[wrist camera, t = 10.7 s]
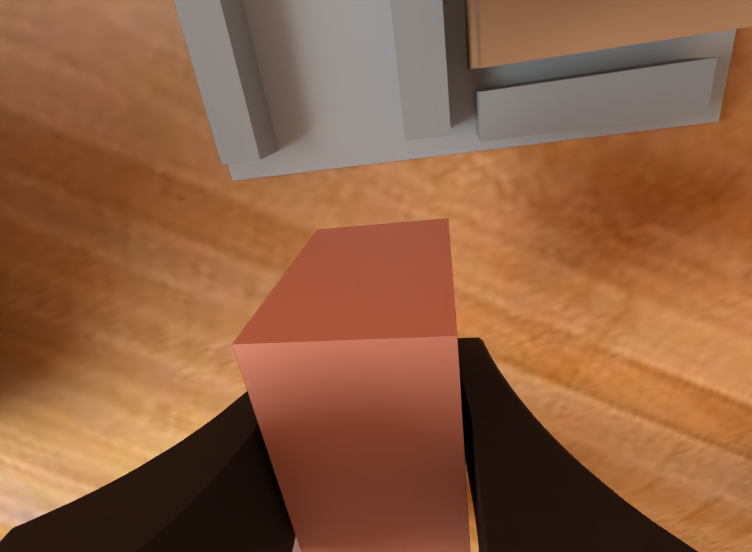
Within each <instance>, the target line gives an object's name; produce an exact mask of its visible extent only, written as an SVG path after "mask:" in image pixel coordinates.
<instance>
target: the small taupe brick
mask: <svg viewBox="0 0 752 552" xmlns="http://www.w3.org/2000/svg"><path fill="white" fill-rule="evenodd" d="M465 21H466V44H467V66H468V69H475V68H486V67H492V66H499V65H505V64H512V63H518V62H525V61H531V60H538V59H544V58H550V57H557V56H563V55H570V54H576V53H583V52H589V51H596V50H602V49H609V48H615V47H622V46H628V45H635V44H641V43H648V42H654V41H661V40H667V39H673V38H680V37H686V36H693V35H699V34H706V33H712V32H719V31H725V30H732V29H738V28H745V27H751V26H752V0H465Z"/></svg>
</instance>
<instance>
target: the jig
mask: <svg viewBox="0 0 752 552" xmlns="http://www.w3.org/2000/svg"><path fill="white" fill-rule="evenodd" d="M173 1H174V5H175V8H176V11H177V15H178V18H179V22H180V25H181V28H182V32H183V35H184V39H185V42H186V46H187V49H188V52H189V56H190V59H191V63H192V66H193V69H194V73H195V76H196V80H197V83H198V87H199V90H200V93H201V97H202V100H203V104H204V107H205V110H206V114H207V117H208V121H209V124H210V128H211V131H212V134H213V138H214V141H215V145H216V148H217V151H218V155H219V158H220V162H221V165H225V164H228V168H229V171H230V175H231V178H232V181H236V180H244V179H252V178H261V177H269V176H277V175H285V174H294V173H302V172H310V171H318V170H326V169H335V168H343V167H351V166H359V165H367V164H376V163H384V162H392V161H400V160H409V159H417V158H425V157H433V156H441V155H450V154H458V153H466V152H474V151H483V150H491V149H499V148H507V147H515V146H524V145H532V144H540V143H548V142H557V141H565V140H573V139H581V138H589V137H598V136H606V135H614V134H622V133H630V132H639V131H647V130H655V129H663V128H672V127H680V126H688V125H696V124H704V123H713V122H719V118H720V113H721V108H722V102H723V97H724V92H725V87H726V81H727V76H728V71H729V66H730V60H731V55H732V50H733V45H734V39H735V34H736V29H732V30H725V31H719V32H712V33H706V34H699V35H693V36H686V37H680V38H673V39H667V40H661V41H654V42H648V43H641V44H635V45H628V46H622V47H615V48H609V49H602V50H596V51H589V52H583V53H576V54H570V55H563V56H557V57H550V58H544V59H538V60H531V61H525V62H518V63H512V64H505V65H499V66H492V67H486V68H475V69H468V66H467V44H466V21H465V0H173Z"/></svg>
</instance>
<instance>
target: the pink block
mask: <svg viewBox="0 0 752 552" xmlns="http://www.w3.org/2000/svg"><path fill="white" fill-rule="evenodd" d="M232 346H233V349H234V352H235V355H236V358H237V361H238V364H239V367H240V370H241V373H242V376H243V379H244V382H245V385H246V388H247V391H248V394H249V397H250V400H251V403H252V406H253V409H254V412H255V415H256V418H257V421H258V424H259V427H260V430H261V433H262V436H263V439H264V442H265V445H266V448H267V451H268V454H269V457H270V460H271V463H272V466H273V469H274V472H275V475H276V478H277V481H278V484H279V487H280V490H281V493H282V496H283V499H284V502H285V505H286V508H287V511H288V514H289V517H290V520H291V523H292V526H293V529H294V532H295V535H296V538H297V541H298V544H299V547H300V550H301V552H470V536H469V520H468V503H467V487H466V470H465V454H464V438H463V421H462V405H461V388H460V372H459V356H458V339H457V326H456V313H455V300H454V287H453V274H452V262H451V249H450V236H449V223H448V219H437V220H425V221H414V222H402V223H391V224H379V225H368V226H356V227H344V228H333V229H321V230H317V231H316V233H315V234H314V235H313V237H312V238H311V239H310V241H309V242H308V243H307V245H306V246H305V247H304V249H303V250H302V251H301V253H300V254H299V255H298V257H297V258H296V259H295V261H294V262H293V263H292V265H291V266H290V267H289V269H288V270H287V271H286V273H285V274H284V275H283V277H282V278H281V279H280V281H279V282H278V283H277V285H276V286H275V288H274V289H273V290H272V292H271V293H270V294H269V296H268V297H267V298H266V300H265V301H264V302H263V304H262V305H261V306H260V308H259V309H258V310H257V312H256V313H255V314H254V316H253V317H252V318H251V320H250V321H249V322H248V324H247V325H246V326H245V328H244V329H243V330H242V332H241V333H240V334H239V336H238V337H237V338H236V340H235V341H234V343H233V344H232Z"/></svg>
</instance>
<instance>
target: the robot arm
mask: <svg viewBox="0 0 752 552" xmlns="http://www.w3.org/2000/svg"><path fill="white" fill-rule="evenodd" d="M457 339H458V356H459V372H460V388H461V405H462V421H463V438H464V454H465V460H466V466H467V471H468V477H469V483H470V489H471V495H472V501H473V507H474V513H475V519H476V527H477V534H478V544H479V552H697V551H696V550H695V549H693V548H692V547H690V546H689V545H687V544H686V543H684V542H683V541H681V540H680V539H678V538H677V537H675V536H674V535H672V534H671V533H669V532H668V531H666V530H665V529H663V528H662V527H660V526H659V525H657V524H656V523H654V522H653V521H652V520H650V519H649V518H647V517H646V516H645V515H643V514H642V513H641V512H639V511H638V510H637V509H635V508H634V507H633V506H631V505H630V504H629V503H627V502H626V501H625V500H623V499H622V498H621V497H620V496H619V495H617V494H616V493H615V492H614V491H613V490H611V489H610V488H609V487H608V486H607V485H605V484H604V483H603V482H602V481H601V480H600V479H598V478H597V477H596V476H595V475H594V474H592V473H591V472H590V471H589V470H588V469H586V468H585V467H584V466H583V465H582V464H581V463H580V462H579V461H578V460H576V459H575V458H574V457H573V456H572V455H571V454H570V453H569V452H568V451H567V450H566V449H565V448H564V447H563V446H562V445H561V444H560V443H559V442H558V441H557V440H556V439H555V438H554V437H553V436H552V435H551V434H550V433H549V432H548V431H547V430H546V429H545V428H544V427H543V425H542V424H541V423H540V422H539V421H538V420H537V419H536V418H535V417H534V415H533V414H532V413H531V412H530V411H529V409H528V408H527V407H526V406H525V405H524V403H523V402H522V401H521V400H520V398H519V397H518V396H517V394H516V393H515V392H514V390H513V389H512V388H511V386H510V385H509V384H508V382H507V381H506V379H505V378H504V377H503V375H502V374H501V372H500V371H499V369H498V368H497V366H496V364H495V363H494V361H493V359H492V358H491V356H490V354H489V352H488V350H487V348H486V346H485V344H484V342H483V341H482V340H481V339H480V338H457ZM0 552H301V550H300V547H299V544H298V541H297V538H296V535H295V532H294V529H293V526H292V523H291V520H290V517H289V514H288V511H287V508H286V505H285V502H284V499H283V496H282V493H281V490H280V487H279V484H278V481H277V478H276V475H275V472H274V469H273V466H272V463H271V460H270V457H269V454H268V451H267V448H266V445H265V442H264V439H263V436H262V433H261V430H260V427H259V424H258V421H257V418H256V415H255V412H254V409H253V406H252V403H251V400H250V397H249V394H248V391H247V392H246V393H244V394H243V395H242V396H241V397H240V398H238V399H237V400H236V401H235V402H233V403H232V404H231V405H230V406H229V407H227V408H226V409H225V410H224V411H222V412H221V413H220V414H219V415H217V416H216V417H215V418H213V419H212V420H211V421H209V422H208V423H207V424H205V425H204V426H203V427H201V428H200V429H198V430H197V431H195V432H194V433H193V434H191V435H190V436H188V437H187V438H185V439H184V440H182V441H181V442H179V443H178V444H176V445H175V446H173V447H171V448H170V449H168V450H166V451H165V452H163V453H162V454H160V455H158V456H157V457H155V458H153V459H152V460H150V461H148V462H147V463H145V464H143V465H142V466H140V467H138V468H137V469H135V470H133V471H131V472H129V473H128V474H126V475H124V476H122V477H120V478H118V479H117V480H115V481H113V482H111V483H109V484H107V485H105V486H103V487H101V488H99V489H97V490H95V491H93V492H91V493H89V494H87V495H85V496H83V497H81V498H79V499H77V500H75V501H73V502H71V503H69V504H66V505H64V506H62V507H60V508H57V509H55V510H53V511H51V512H48V513H46V514H44V515H42V516H40V517H37V518H35V519H33V520H31V521H28V522H26V523H24V524H21V525H19V526H17V527H14V528H13V529H11V530H10V531H9V532H8V534H7V535H6V536H5V537H4V538H3V539H2V540H1V541H0Z"/></svg>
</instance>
